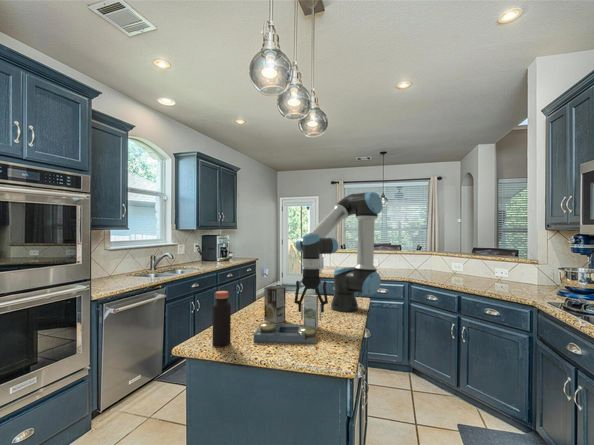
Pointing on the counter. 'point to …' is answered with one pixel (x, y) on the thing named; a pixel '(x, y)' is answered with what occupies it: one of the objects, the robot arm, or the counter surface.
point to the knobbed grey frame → (277, 332)
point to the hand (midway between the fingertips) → (311, 319)
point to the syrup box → (311, 311)
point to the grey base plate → (309, 339)
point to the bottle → (221, 320)
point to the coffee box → (274, 304)
